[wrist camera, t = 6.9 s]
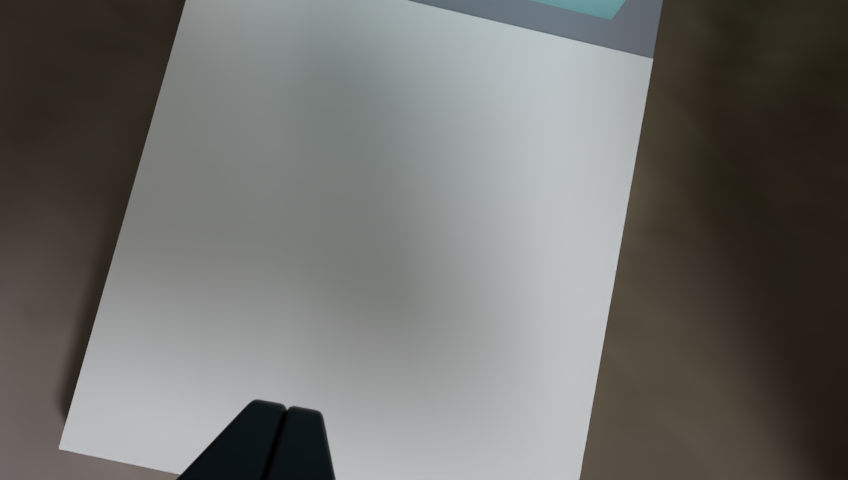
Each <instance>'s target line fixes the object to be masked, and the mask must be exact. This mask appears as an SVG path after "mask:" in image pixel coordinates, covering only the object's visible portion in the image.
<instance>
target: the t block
mask: <svg viewBox="0 0 848 480" xmlns="http://www.w3.org/2000/svg"><path fill="white" fill-rule="evenodd" d="M531 1H535V2H539V3H543V4H547V5H551V6H555V7H560V8H564V9H568V10H572V11H576V12H580V13H584V14H589V15H593V16H597V17H601V18H605V19H609V20H612V18H613V17H614V15H615V14H616V13H617V11H618V10H619V9H620V7H621V6H622V5H623V3H624V2H625V0H531Z"/></svg>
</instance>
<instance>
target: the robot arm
mask: <svg viewBox="0 0 848 480" xmlns="http://www.w3.org/2000/svg"><path fill="white" fill-rule="evenodd" d="M176 480H336V478H335V473H334V468H333V463H332V458H331V453H330V448H329V443H328V438H327V432H326V427H325V422H324V417H323V415H322V413H321V412H320V411H318V410H314V409H308V408H303V407H298V406H291V407H289V408H288V409H286V406H285V405H283V404H281V403H276V402H271V401H265V400H260V399H255V400H253V401H251V402H250V403H249V404H247V405H246V407H245V408H244V409H243V410H242V411H241V412H240V413H239V414H238V415H237V416H236V417H235V418H234V419H233V420H232V421H231V422H230V423H229V424H228V425H227V427H226V428H225V429H224V430H223V431H222V432H221V433H220V434H219V435H218V436H217V437H216V438H215V439H214V440H213V441H212V442H211V443H210V444H209V445H208V446H207V448H206V449H205V450H204V451H203V452H202V453H201V454H200V455H199V456H198V457H197V458H196V459H195V460H194V461H193V462H192V463H191V464H190V465H189V466H188V468H187V469H186V470H185V471H184V472H183V473H182V474H181V475H180V476H179V477H178V478H177V479H176Z"/></svg>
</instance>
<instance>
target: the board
mask: <svg viewBox="0 0 848 480" xmlns="http://www.w3.org/2000/svg"><path fill="white" fill-rule="evenodd" d="M662 3H663V0H625V2H624V3H623V5H622V6H621V7H620V9H619V10H618V11H617V13H616V14H615V15H614V17H613V18H612V20H609V19H605V18H601V17H597V16H593V15H589V14H584V13H580V12H576V11H572V10H568V9H564V8H560V7H555V6H551V5H547V4H543V3H539V2H535V1H531V0H186V2H185V5H184V9H183V12H182V16H181V19H180V23H179V26H178V30H177V33H176V37H175V40H174V44H173V47H172V51H171V54H170V58H169V62H168V65H167V69H166V72H165V76H164V79H163V83H162V86H161V90H160V93H159V97H158V100H157V104H156V107H155V111H154V114H153V118H152V121H151V125H150V128H149V132H148V136H147V139H146V143H145V146H144V150H143V153H142V157H141V160H140V164H139V167H138V171H137V174H136V178H135V181H134V185H133V188H132V192H131V195H130V199H129V202H128V206H127V209H126V213H125V217H124V220H123V224H122V227H121V231H120V234H119V238H118V241H117V245H116V248H115V252H114V255H113V259H112V262H111V266H110V269H109V273H108V276H107V280H106V283H105V287H104V290H103V294H102V298H101V301H100V305H99V308H98V312H97V315H96V319H95V322H94V326H93V329H92V333H91V336H90V340H89V343H88V347H87V350H86V354H85V357H84V361H83V364H82V368H81V371H80V375H79V379H78V382H77V386H76V389H75V393H74V396H73V400H72V403H71V407H70V410H69V414H68V417H67V421H66V424H65V428H64V431H63V435H62V438H61V442H60V445H59V449H61V450H66V451H71V452H76V453H80V454H85V455H90V456H95V457H99V458H104V459H109V460H114V461H118V462H123V463H128V464H133V465H137V466H142V467H147V468H152V469H156V470H161V471H166V472H171V473H176V474H180V475H181V474H182V473H183V472H184V471H185V470H186V469H187V468H188V466H189V465H190V464H191V463H192V462H193V461H194V460H195V459H196V458H197V457H198V456H199V455H200V454H201V453H202V452H203V451H204V450H205V449H206V448H207V446H208V445H209V444H210V443H211V442H212V441H213V440H214V439H215V438H216V437H217V436H218V435H219V434H220V433H221V432H222V431H223V430H224V429H225V428H226V427H227V425H228V424H229V423H230V422H231V421H232V420H233V419H234V418H235V417H236V416H237V415H238V414H239V413H240V412H241V411H242V410H243V409H244V408H245V407H246V405H247V404H249V403H250V402H251V401H253V400H255V399H260V400H265V401H271V402H276V403H281V404H283V405H285V406H286V409H288V408H289V407H291V406H298V407H303V408H308V409H314V410H318V411H320V412H321V413H322V415H323V417H324V422H325V427H326V432H327V438H328V443H329V448H330V453H331V458H332V463H333V468H334V473H335V478H336V480H579V478H580V472H581V466H582V461H583V455H584V449H585V444H586V438H587V432H588V427H589V421H590V415H591V410H592V404H593V398H594V393H595V387H596V381H597V376H598V370H599V364H600V359H601V353H602V347H603V341H604V336H605V330H606V324H607V319H608V313H609V307H610V302H611V296H612V290H613V285H614V279H615V273H616V268H617V262H618V256H619V251H620V245H621V239H622V234H623V228H624V222H625V217H626V211H627V205H628V200H629V194H630V188H631V183H632V177H633V171H634V165H635V160H636V154H637V148H638V143H639V137H640V131H641V126H642V120H643V114H644V109H645V103H646V97H647V92H648V86H649V80H650V75H651V69H652V63H653V54H654V48H655V42H656V37H657V31H658V25H659V20H660V14H661V8H662Z"/></svg>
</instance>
